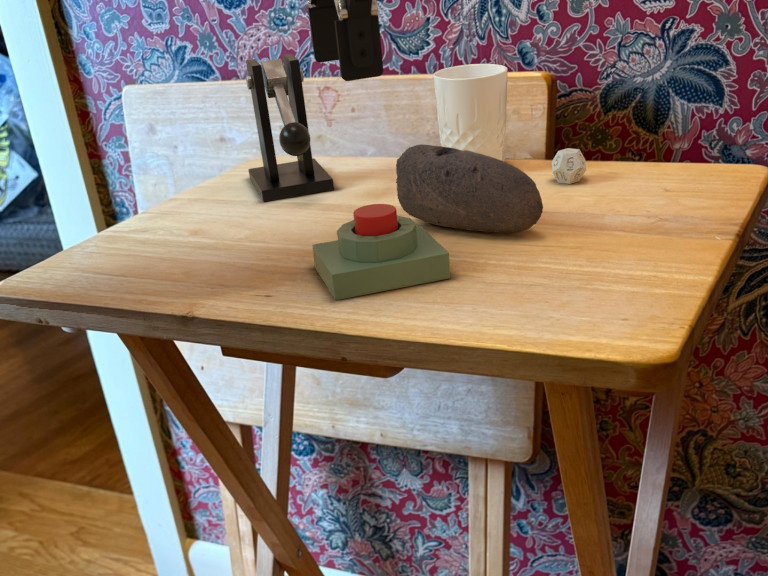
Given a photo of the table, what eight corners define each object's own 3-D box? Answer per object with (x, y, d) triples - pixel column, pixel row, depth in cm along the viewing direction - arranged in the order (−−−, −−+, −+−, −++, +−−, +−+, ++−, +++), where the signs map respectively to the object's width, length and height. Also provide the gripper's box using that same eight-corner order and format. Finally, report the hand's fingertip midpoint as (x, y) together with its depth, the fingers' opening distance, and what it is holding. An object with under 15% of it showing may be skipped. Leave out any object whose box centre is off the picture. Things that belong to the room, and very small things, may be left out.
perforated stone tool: (556, 230, 82) (557, 151, 78) (525, 249, 79) (525, 167, 75) (426, 210, 90) (422, 137, 86) (394, 226, 87) (387, 151, 83)
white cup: (518, 160, 102) (517, 63, 96) (494, 180, 96) (492, 78, 90) (454, 158, 105) (450, 63, 99) (427, 177, 99) (421, 79, 93)
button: (361, 241, 73) (359, 220, 72) (351, 228, 76) (348, 208, 75) (403, 233, 74) (401, 212, 73) (391, 221, 77) (389, 201, 76)
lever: (314, 160, 93) (313, 135, 90) (284, 165, 92) (282, 140, 89) (287, 80, 97) (285, 54, 94) (258, 84, 97) (255, 58, 94)
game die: (567, 188, 92) (568, 157, 90) (543, 181, 94) (544, 151, 93) (593, 180, 93) (594, 150, 92) (569, 173, 96) (569, 144, 94)
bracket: (334, 189, 98) (318, 61, 91) (263, 202, 97) (241, 72, 89) (315, 168, 106) (299, 48, 99) (250, 179, 105) (228, 58, 97)
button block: (335, 300, 73) (328, 252, 71) (315, 269, 79) (308, 223, 77) (450, 278, 75) (448, 231, 72) (422, 249, 81) (419, 204, 79)
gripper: (404, -229, 54) (424, 78, 65) (340, -204, 68) (365, 47, 78) (284, -218, 53) (325, 94, 63) (243, -194, 67) (282, 60, 77)
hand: (347, 68), depth 71 cm, fingers open, 9 cm apart
